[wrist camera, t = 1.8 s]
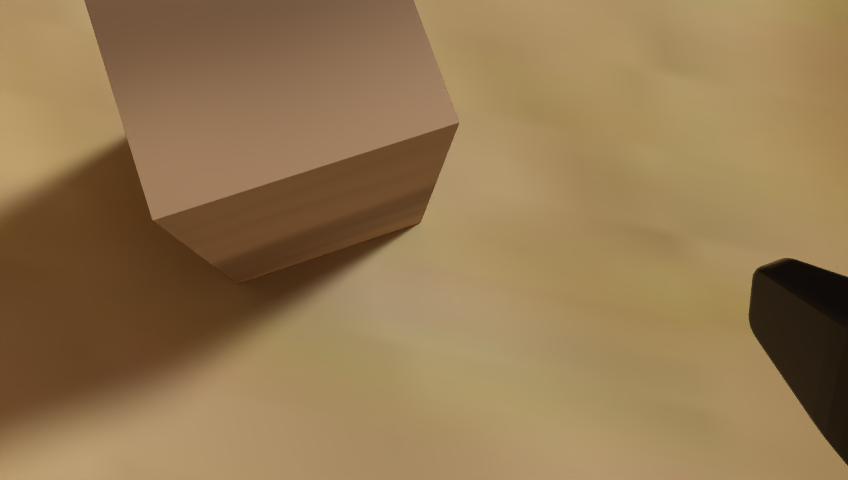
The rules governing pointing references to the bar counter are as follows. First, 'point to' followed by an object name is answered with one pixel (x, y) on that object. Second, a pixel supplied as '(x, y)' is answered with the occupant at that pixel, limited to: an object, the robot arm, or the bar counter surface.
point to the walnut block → (277, 121)
